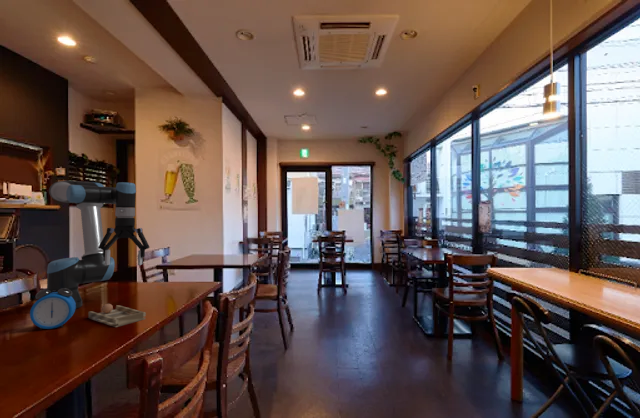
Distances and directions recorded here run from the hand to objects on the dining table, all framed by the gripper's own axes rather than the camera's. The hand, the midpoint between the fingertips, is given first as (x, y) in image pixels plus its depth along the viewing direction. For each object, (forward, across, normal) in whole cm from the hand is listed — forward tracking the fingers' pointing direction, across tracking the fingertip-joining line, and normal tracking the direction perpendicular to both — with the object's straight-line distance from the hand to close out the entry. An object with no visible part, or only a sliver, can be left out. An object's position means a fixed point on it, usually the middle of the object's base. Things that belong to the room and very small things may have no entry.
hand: (123, 264), depth 143 cm
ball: (+19, -6, -1) cm, 20 cm away
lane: (+22, 0, -6) cm, 23 cm away
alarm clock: (+22, -19, -14) cm, 33 cm away
